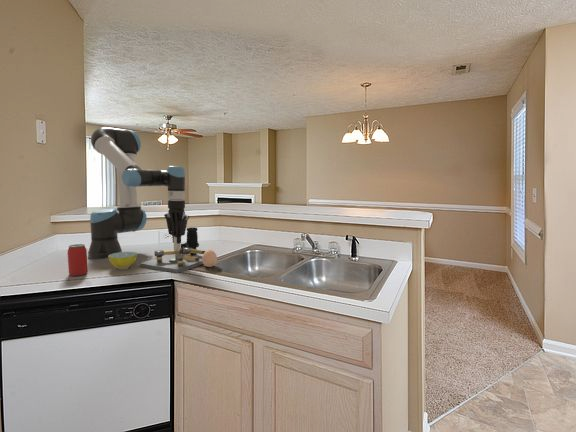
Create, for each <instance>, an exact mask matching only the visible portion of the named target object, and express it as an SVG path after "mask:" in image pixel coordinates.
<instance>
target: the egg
mask: <svg viewBox="0 0 576 432" xmlns="http://www.w3.org/2000/svg"><path fill="white" fill-rule="evenodd" d="M204 251H205V253H204V254H202V257H201V259H202V262H203V264H202V265H204V266H205V267H206V268H207V267H208V268H212V267H214V266H215V265H216V264H217V262H218V255H217V253H216V252H215V251H214V250H212V249H208V250H204Z"/></svg>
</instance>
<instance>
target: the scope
mask: <svg viewBox="0 0 576 432" xmlns="http://www.w3.org/2000/svg"><path fill="white" fill-rule="evenodd" d="M186 231H187V232H186V242H184V243H180V250H182V251H183V248H187V247H190V248H192V249H197V248H199V246H200V244H199V239H198V238H199V237H198V227H186ZM182 254H185V253H182ZM190 256H197V254H196V253H190Z"/></svg>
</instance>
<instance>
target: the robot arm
mask: <svg viewBox="0 0 576 432" xmlns="http://www.w3.org/2000/svg"><path fill="white" fill-rule="evenodd" d="M90 143H91V146H92V148H93V149H94V150H95V152H97V153H99V154H101V155H103V156H104V157H105V158H106V159H107V160H108V162H110V164H111V165H112V166H113V167H114V168H116V172H117V173H116V174H117V175H116V176H117V187H118V197H119V204H118V206H116V208H114V207H113V208H110V207H109V208H102V209H97V210H94V211H92V212H90V220H89V224H90V236H91V237H90V238H91V242H90V246H89V250H88V251H87V258H89V259H96V260H97V259H109V258H108V256H109V255H111V254H114V253H119V252H123V250H122V247H121V245H120V242H119V238H118V234H121V233H122V234H123V233H129V232H130V233H131V232H134V233H135V232H137V231H141V230H143V229H144V228H145V226H146V224H147V218H148V217H147V213H146V211H145V210H144V209H142V206H141V205H140V204H139V203H138V193H137V187H167V199H168V200H167V208H168V209H169V210H168V212H166V213H165V214H164V215H163V216H164V218H165V220H166V227H167V231H168V234H169V235H171V237H172V243H173V250H180V248H181V244H182V237H183V236H185V235H186V231H187V226H188V220H189V219H190V216H189V215H187V214H186V211H185V208H186V201H185V199H186V170H185V167H184V166H179V165H178V166H177V165H169V166H167V170H166V169H165V170H164V169H142V168H141V167H140V166H138V164H137V163H135V158H136V157H137V155H138V154H137V153H139V152H140V150H141V148H142V147H141V145H142V143H141V139H140V137H139V135H138V134H137V132H136V131H134V130H131V129H127V128H125V129H124V128H114V127H109V126H108V127H107V126H103V127H99V128H97V129H95V130H94V131H93V132H92V134H91V137H90Z"/></svg>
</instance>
